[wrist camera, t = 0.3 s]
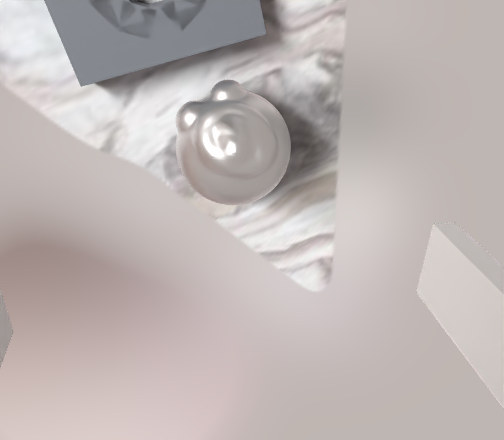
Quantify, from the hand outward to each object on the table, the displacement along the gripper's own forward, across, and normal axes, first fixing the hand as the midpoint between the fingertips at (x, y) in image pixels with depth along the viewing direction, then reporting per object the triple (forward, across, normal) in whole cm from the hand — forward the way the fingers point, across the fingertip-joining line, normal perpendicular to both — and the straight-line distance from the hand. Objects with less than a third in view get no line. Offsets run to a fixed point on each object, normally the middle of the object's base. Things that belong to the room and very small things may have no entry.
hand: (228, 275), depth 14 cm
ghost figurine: (+27, +3, -4) cm, 28 cm away
